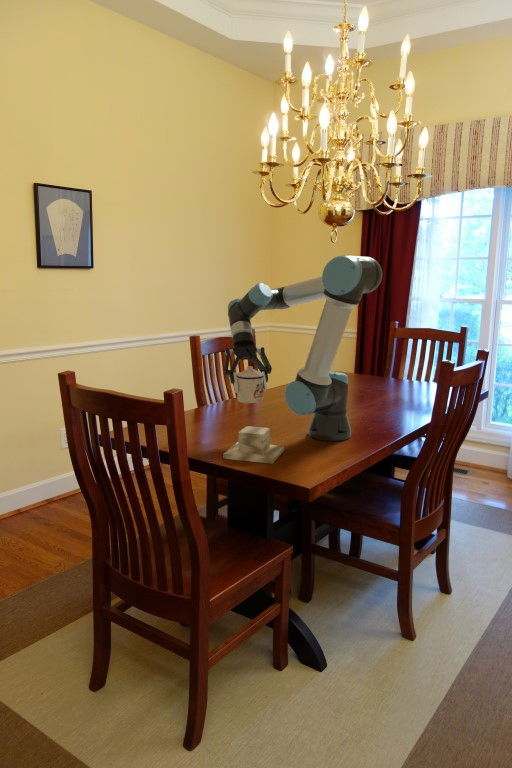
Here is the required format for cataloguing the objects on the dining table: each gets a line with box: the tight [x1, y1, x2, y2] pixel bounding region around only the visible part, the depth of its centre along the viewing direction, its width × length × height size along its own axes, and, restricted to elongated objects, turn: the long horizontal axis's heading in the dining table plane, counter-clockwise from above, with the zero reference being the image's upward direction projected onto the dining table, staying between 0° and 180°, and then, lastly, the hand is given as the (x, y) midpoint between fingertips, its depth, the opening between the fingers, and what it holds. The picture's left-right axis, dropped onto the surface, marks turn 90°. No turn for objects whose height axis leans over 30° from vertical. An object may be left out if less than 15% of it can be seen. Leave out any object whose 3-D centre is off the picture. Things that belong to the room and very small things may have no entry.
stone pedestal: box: [222, 425, 285, 465], centre depth 185 cm, size 16×14×8 cm
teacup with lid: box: [236, 365, 264, 404], centre depth 197 cm, size 12×9×12 cm
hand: (251, 390), depth 194 cm, fingers closed on teacup with lid, 9 cm apart
